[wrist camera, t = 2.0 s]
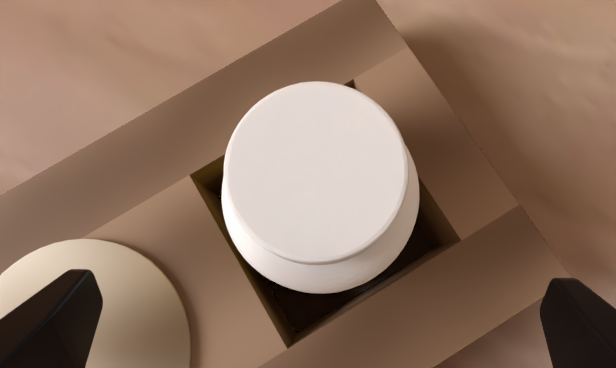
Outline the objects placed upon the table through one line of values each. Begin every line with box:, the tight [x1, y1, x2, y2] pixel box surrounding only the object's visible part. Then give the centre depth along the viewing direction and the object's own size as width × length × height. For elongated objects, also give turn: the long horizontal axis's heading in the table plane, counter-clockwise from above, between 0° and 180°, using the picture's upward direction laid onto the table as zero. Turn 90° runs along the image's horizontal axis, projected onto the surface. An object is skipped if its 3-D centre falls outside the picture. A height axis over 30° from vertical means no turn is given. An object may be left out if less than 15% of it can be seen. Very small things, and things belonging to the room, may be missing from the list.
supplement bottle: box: [222, 81, 419, 294], centre depth 15 cm, size 5×5×10 cm
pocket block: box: [0, 0, 571, 368], centre depth 17 cm, size 12×20×4 cm, turn 120°
